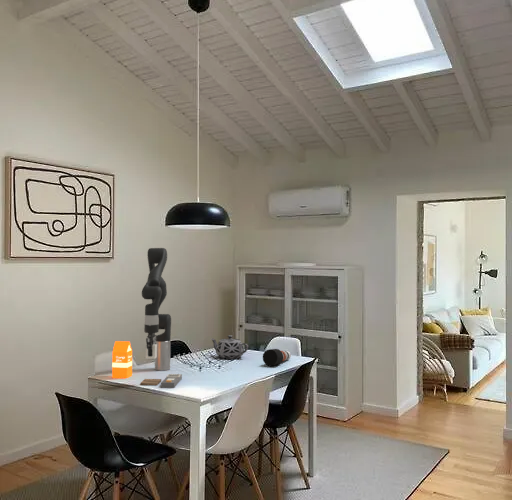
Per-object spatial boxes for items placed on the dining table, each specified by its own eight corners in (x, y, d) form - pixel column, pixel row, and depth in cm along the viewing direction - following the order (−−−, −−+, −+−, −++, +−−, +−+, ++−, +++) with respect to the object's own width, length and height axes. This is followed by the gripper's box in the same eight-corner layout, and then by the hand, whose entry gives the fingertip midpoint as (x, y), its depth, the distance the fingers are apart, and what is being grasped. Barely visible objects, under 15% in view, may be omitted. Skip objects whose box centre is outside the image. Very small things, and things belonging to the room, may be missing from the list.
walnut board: (145, 381, 301) (145, 378, 301) (161, 381, 300) (161, 379, 300) (140, 385, 291) (140, 382, 291) (157, 385, 290) (157, 383, 290)
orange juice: (117, 375, 316) (117, 340, 316) (132, 375, 315) (132, 340, 315) (111, 378, 308) (112, 342, 309) (126, 378, 307) (127, 342, 307)
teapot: (217, 353, 392) (218, 332, 392) (255, 357, 376) (255, 335, 377) (202, 357, 375) (202, 335, 376) (240, 361, 360) (240, 338, 360)
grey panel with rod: (172, 375, 315) (172, 370, 315) (184, 375, 315) (184, 370, 315) (160, 387, 285) (160, 381, 285) (174, 387, 285) (174, 381, 285)
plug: (147, 357, 298) (147, 341, 298) (156, 357, 298) (156, 341, 298) (145, 358, 294) (145, 342, 294) (155, 358, 294) (155, 342, 294)
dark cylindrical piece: (292, 365, 372) (298, 352, 371) (272, 368, 341) (280, 354, 340) (280, 357, 376) (286, 344, 375) (259, 360, 346) (267, 346, 345)
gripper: (147, 322, 304) (147, 353, 303) (141, 324, 289) (140, 357, 289) (161, 322, 303) (161, 353, 303) (155, 325, 289) (155, 358, 289)
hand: (151, 355), depth 296 cm, fingers closed on plug, 4 cm apart
